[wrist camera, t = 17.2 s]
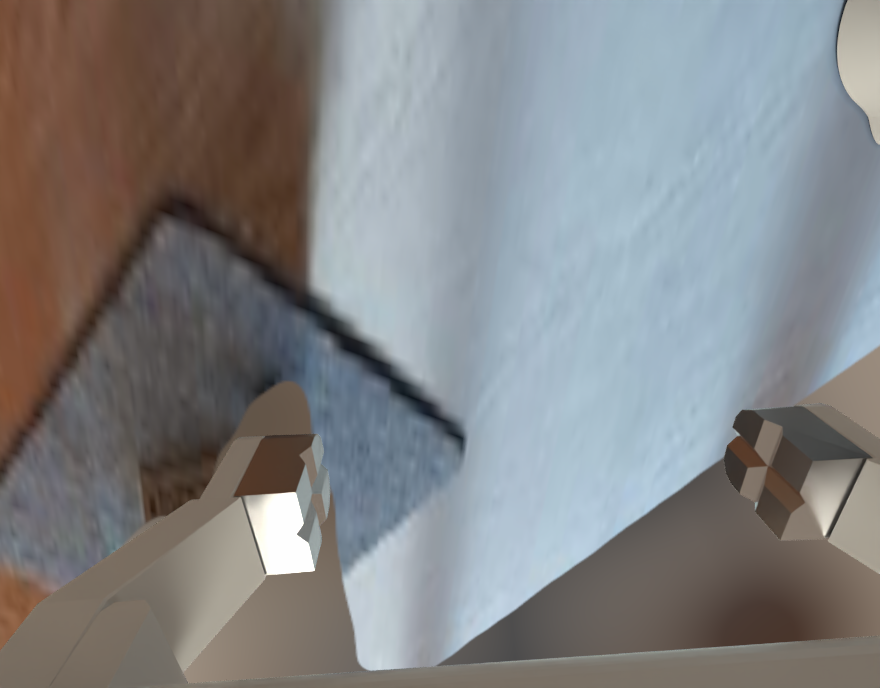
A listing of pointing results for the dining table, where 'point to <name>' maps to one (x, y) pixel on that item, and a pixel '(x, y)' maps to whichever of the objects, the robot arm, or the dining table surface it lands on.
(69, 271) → the dining table surface
